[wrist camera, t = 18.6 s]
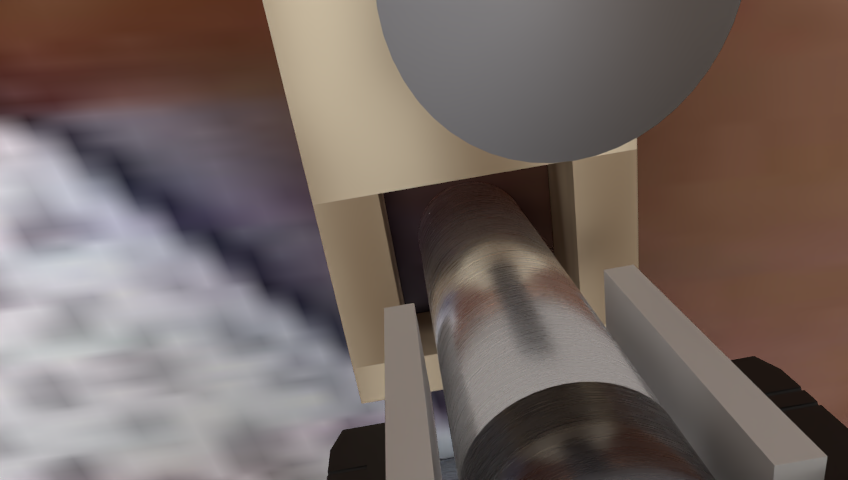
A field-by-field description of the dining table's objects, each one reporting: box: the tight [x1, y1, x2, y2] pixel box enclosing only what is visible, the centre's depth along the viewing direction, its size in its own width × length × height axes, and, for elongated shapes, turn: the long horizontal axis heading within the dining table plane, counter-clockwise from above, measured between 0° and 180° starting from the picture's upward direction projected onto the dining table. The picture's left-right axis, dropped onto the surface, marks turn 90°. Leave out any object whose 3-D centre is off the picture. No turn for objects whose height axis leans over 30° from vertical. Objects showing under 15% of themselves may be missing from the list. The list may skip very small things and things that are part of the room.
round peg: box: [418, 182, 715, 480], centre depth 14 cm, size 4×4×15 cm
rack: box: [262, 0, 741, 404], centre depth 13 cm, size 10×17×13 cm, turn 9°
